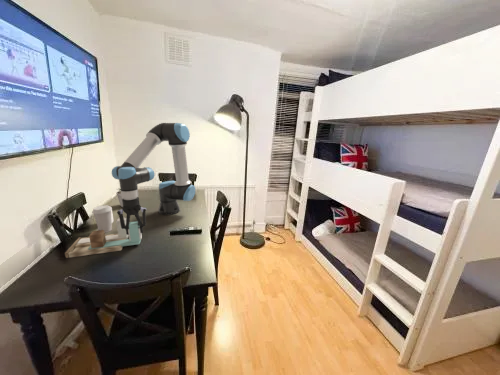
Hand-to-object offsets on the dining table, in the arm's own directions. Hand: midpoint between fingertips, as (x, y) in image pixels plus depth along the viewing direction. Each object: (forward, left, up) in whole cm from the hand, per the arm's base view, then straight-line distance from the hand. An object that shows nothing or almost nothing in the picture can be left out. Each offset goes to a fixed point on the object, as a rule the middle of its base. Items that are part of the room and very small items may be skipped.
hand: (135, 238), depth 114 cm
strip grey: (+17, -7, -2) cm, 19 cm away
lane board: (+17, -4, -3) cm, 18 cm away
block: (+17, 0, -1) cm, 17 cm away
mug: (+23, -33, -4) cm, 40 cm away
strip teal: (+9, 0, -2) cm, 10 cm away
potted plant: (+16, -68, -3) cm, 70 cm away
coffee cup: (+20, -23, -3) cm, 31 cm away
